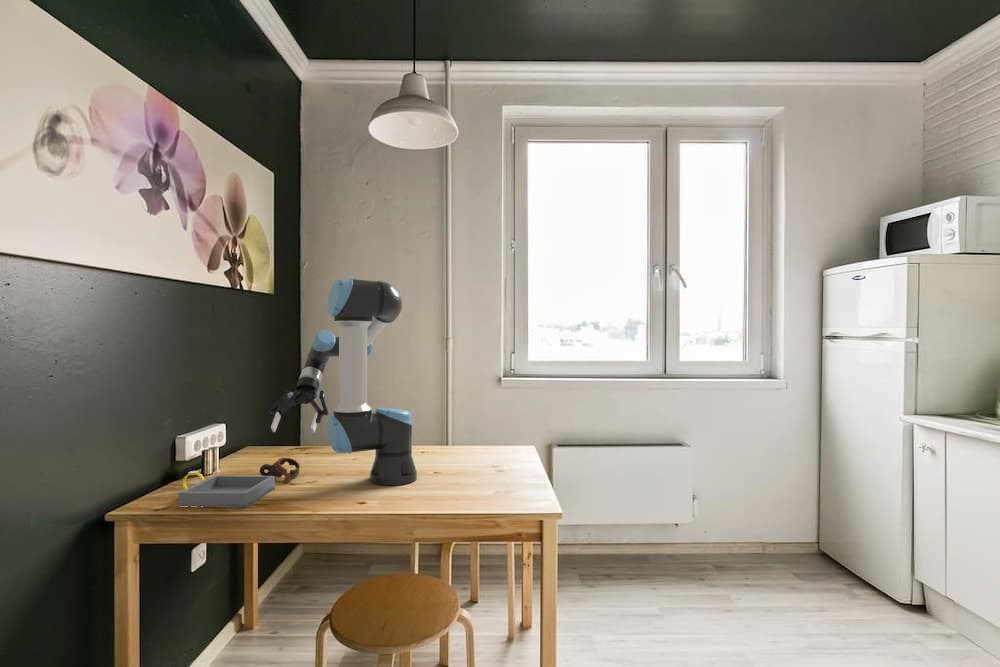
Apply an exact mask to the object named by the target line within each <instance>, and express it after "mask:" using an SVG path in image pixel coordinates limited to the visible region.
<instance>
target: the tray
mask: <svg viewBox="0 0 1000 667" xmlns="http://www.w3.org/2000/svg"><path fill="white" fill-rule="evenodd" d="M275 489H276V477H275V476H262V475H235V474H234V475H233V474H231V475H229V474H228V475H227V474H226V475H224V474H223V475H218V474H214V475H213V476H211V477H209V478H207V479H205V480H204V481H202V480H201V481H200V482H198V483H196V484H194V485H192V486H190V487H188V488H187V489H183V490H181V491H179V492H178V500H177V501H178V503H177V504H178V505H177V506H188V507H191V506H197V507H201V506H203V507H216V508H215V509H246V508H248V507H249V506H251V505H253V504H254V503H256V502H257V501H259V500H260V499H262V498H263V497H265V496H266V494H267V495H268V494H270V493H271V492H272V490H273V491H274V490H275ZM269 492H270V493H269ZM219 507H220V508H219Z"/></svg>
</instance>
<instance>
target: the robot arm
mask: <svg viewBox="0 0 1000 667" xmlns="http://www.w3.org/2000/svg"><path fill="white" fill-rule="evenodd" d="M402 301H403V300H402V297H401V295H400V292H399V291H398V290H397V288H396V287H394V286H393V285H391V284H390V283H388V282H386V281H380V280H365V279H355V278H344V279H343V278H340V279H337V280H335V281H334V282H333V284H332V286H331V288H330V290H329V294H328V298H327V313H328V314H329V316H331V317H332V318H333V323H334V324H335V325H336V326H337V327H338V336H335V334H334V333H332V331H328V330H319V331H318V332H317V333H316V334H315V335H314V336H313V339H312V341H311V346H310V348H309V350H308V353H307V354H306V355H307V356H306V360H305V362H304V365H303V368H302V371H301V373H300V376H299V379H298V381H297V384H296V387H295V389H294V391H293V392H292V391H290V390H289V389H287V390H285V392H284V394H283V395H282V396H281V397H280V398H279V399H278V400H277V401H276V402H274V404H272V406H271V407H269V409H268V410H269V412H270V413H271V415H272V416H271V419H270V420H271V422H272V423H271V426H270V430H271V431H272V433H276V431H277V428H278V426H279V423H280V421H281V418H282V416H281V415H282V414H283V413H285V412H287V411H288V410H289V409H290V408H292V407H293V406H297V405H303V404H305V405H308V404H309V403H310V405H311V407H312V408H313V409H314V410H315V413H314V416H313V419H312V422H311V425H310V431H311V432H312V434H313V433H315V432H316V428H317V426H318V424H321V421H322V418H323V416H328V415H329V410H328V407H327V404H326V401H325V399H326V398H325V397H326V395H325V392H324V390H320V391H319V387H320V385H321V381H322V378H323V375H324V372H325V369H326V366H327V364H328V362H329V359H330V357H333V358H335V357H338V405H336V406H335V408H334V409H333V415H330V416H329V417H328V418H327V420H326V421H327V422H326V433H327V439H328V442H329V445H330V446H331V449H332V450H333V451H334V453H337V454H352V453H360V452H366V451H367V452H368V451H375V457H374V461H373V463H372V466H371V470H370V473H369V481H370V482H371V483H372V484H375V485H379V486H400V485H408V484H410V483H413V482H415V481H416V480H417V479H418V474H417V473H418V472H417V468H416V465H415V462H414V459H413V456H412V451H413V450H412V448H413V445H412V444H413V441H412V440H413V419H412V417H413V416H412V414H411V412H410V411H409V410H405V409H402V408H401V409H400V408H392V407H391V408H390V407H377V408H375V412H372V411H373V408H372V407H371V406H370V405H369V404H368V356H370V355H371V354H372V351H373V342H374V340H376V338H377V337H378V336H379V335H380V334H381V332H382V331H383V330H384V329H385V327H387V325H388V324H390V323H393V322H394V321H396V320H397V318H398V317H399V315H400V314H401V312H402V310H403V309H402V308H403V302H402ZM318 391H319V392H318ZM316 398H318V399H319V400H320V404H321V407H322V409H321V408H320V406H319V404H318V403H316V401H315V399H316Z"/></svg>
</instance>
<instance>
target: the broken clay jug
mask: <svg viewBox="0 0 1000 667" xmlns="http://www.w3.org/2000/svg"><path fill="white" fill-rule="evenodd" d="M285 463H288V466H295V469H290V470H289V472H287V471H288V469H287V468H285V467H284V466H283V465H285ZM300 467H301V466H300V463H299V462H298V461H297V460H296V459H293V458H290V457H280V458H279V459H277V461H275V462H274V463H272V464H269V463H268V464H267V463H266V464H262V465H261V466H260V467H259V474H260V476H275V478H282V477H283V476H284V478H283V480H282V483H283V484H286V483H287V484H289V483H290V482H291V481H292V480H294V479H296V478H297V477H298V476H299V475H300V469H301V468H300ZM266 470H267V472H265V471H266ZM281 476H282V477H281Z"/></svg>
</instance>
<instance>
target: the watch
mask: <svg viewBox="0 0 1000 667" xmlns="http://www.w3.org/2000/svg"><path fill="white" fill-rule="evenodd" d="M195 475H196V476H197V477H199V478H200V480H201V482H202V481H204V480H206V479H205V477H204V476H203V474H202V473H200V471H199V470H191V471H189V472H188V473H187V474H186V475H185V476H184V477H183V479H182V487H183V490H185V489H187V488H189V487H188V485H187V479H188V477H189V476H195Z"/></svg>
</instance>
